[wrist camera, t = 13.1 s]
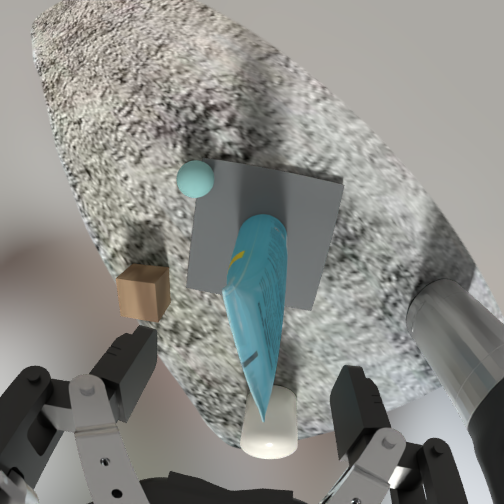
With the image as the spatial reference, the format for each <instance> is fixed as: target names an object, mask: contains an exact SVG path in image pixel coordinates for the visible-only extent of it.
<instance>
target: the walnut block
mask: <svg viewBox="0 0 504 504" xmlns="http://www.w3.org/2000/svg"><path fill="white" fill-rule="evenodd" d="M116 284H117V292H118V299H119V307H120V313H121V316H124V317H129V318H135V319H140V320H146V321H152V322H159V320H160V319H161V317H162V316H163V314H164V313H165V311H166V309H167V308H168V306H169V305H170V303H171V301H170V282H169V267H160V266H151V265H142V264H132V265H131V266H130V267H128V268H127V269H126V270H125V271H124V272H123V273H122V274H120V275H119V276H118V277H117V278H116Z"/></svg>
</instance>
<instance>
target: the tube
mask: <svg viewBox="0 0 504 504" xmlns="http://www.w3.org/2000/svg"><path fill="white" fill-rule="evenodd" d="M287 255H288V244H287V232H286V229H285V227H284V226H283V224H282V223H281V222H280V221H279V220H278V219H277V218H275V217H273V216H271V215H267V214H259V215H255V216H252V217H250V218H248V219H247V220H246V221H245V222H244V223H243V224H242V226H241V228H240V230H239V233H238V236H237V240H236V243H235V247H234V250H233V254H232V257H231V261H230V264H229V268H228V273H227V286H225V287H224V288H223V289H222V294H223V299H224V303H225V307H226V312H227V316H228V320H229V324H230V327H231V331H232V334H233V338H234V342H235V345H236V348H237V351H238V355H239V359H240V361H241V364H242V368H243V371H244V374H245V377H246V380H247V383H248V386H249V389H250V392H251V394H252V396H253V398H254V401H255V403H256V405H257V407H258V409H259V413H260V415H261V419H262V422H265V414H266V411H267V407H268V403H269V400H270V396H271V392H272V387H273V383H274V378H275V373H276V367H277V361H278V355H279V348H280V340H281V332H282V324H283V314H284V304H285V292H286V278H287Z"/></svg>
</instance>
